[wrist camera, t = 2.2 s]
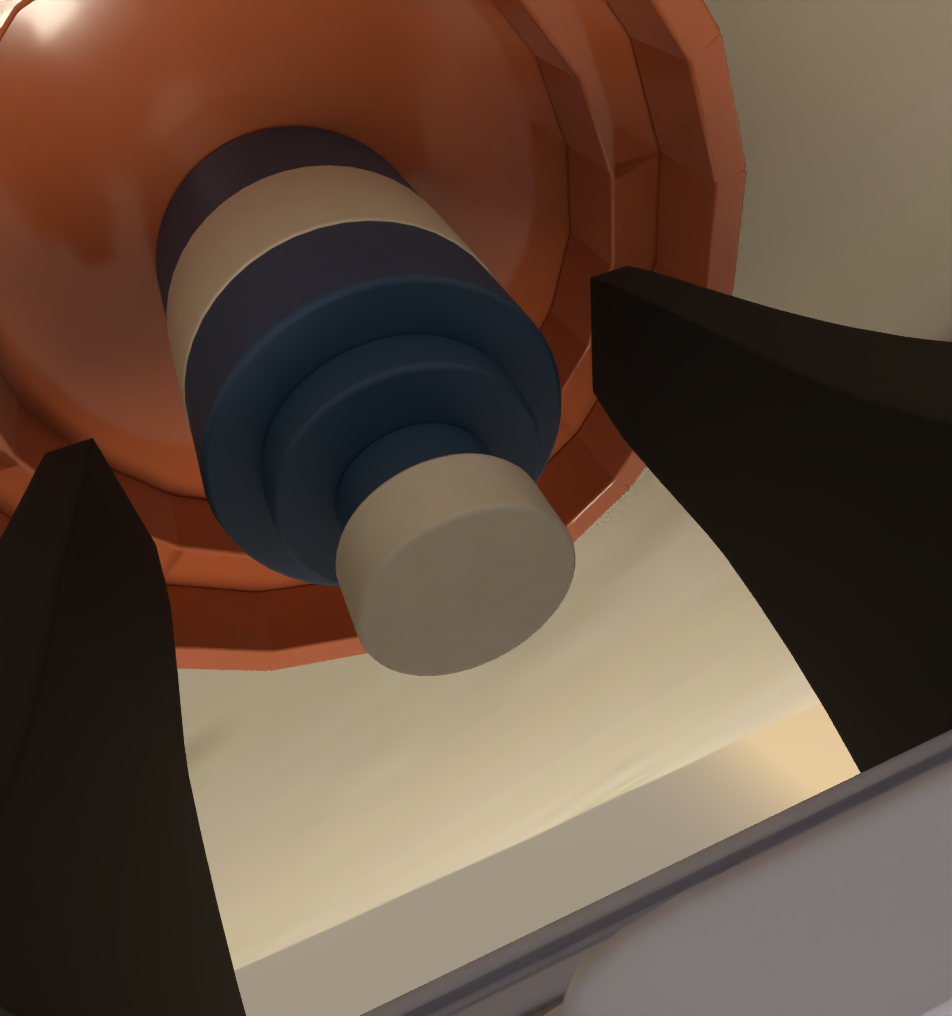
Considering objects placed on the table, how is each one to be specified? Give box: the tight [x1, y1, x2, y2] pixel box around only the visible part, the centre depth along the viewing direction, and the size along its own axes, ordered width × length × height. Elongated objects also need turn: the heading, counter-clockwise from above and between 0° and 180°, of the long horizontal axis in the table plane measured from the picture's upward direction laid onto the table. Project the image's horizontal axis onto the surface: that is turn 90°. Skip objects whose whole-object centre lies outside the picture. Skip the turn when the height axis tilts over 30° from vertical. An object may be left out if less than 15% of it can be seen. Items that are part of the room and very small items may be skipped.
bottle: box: [156, 126, 575, 676], centre depth 12 cm, size 5×5×9 cm
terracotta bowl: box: [0, 0, 746, 671], centre depth 14 cm, size 14×14×4 cm
